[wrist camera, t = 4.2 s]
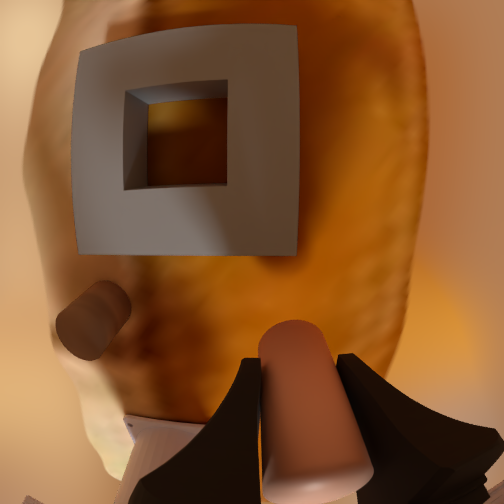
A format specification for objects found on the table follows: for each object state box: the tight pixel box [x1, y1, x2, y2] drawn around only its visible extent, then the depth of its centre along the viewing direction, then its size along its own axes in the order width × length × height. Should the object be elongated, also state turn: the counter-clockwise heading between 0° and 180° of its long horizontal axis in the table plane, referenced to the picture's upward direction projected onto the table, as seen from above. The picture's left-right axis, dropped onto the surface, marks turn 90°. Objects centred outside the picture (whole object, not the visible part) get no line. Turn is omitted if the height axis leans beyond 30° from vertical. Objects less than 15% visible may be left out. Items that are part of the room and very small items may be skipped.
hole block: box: [71, 24, 300, 256], centre depth 12 cm, size 10×10×3 cm
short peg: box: [56, 280, 131, 361], centre depth 14 cm, size 3×3×4 cm
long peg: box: [258, 320, 374, 504], centre depth 9 cm, size 3×3×7 cm
